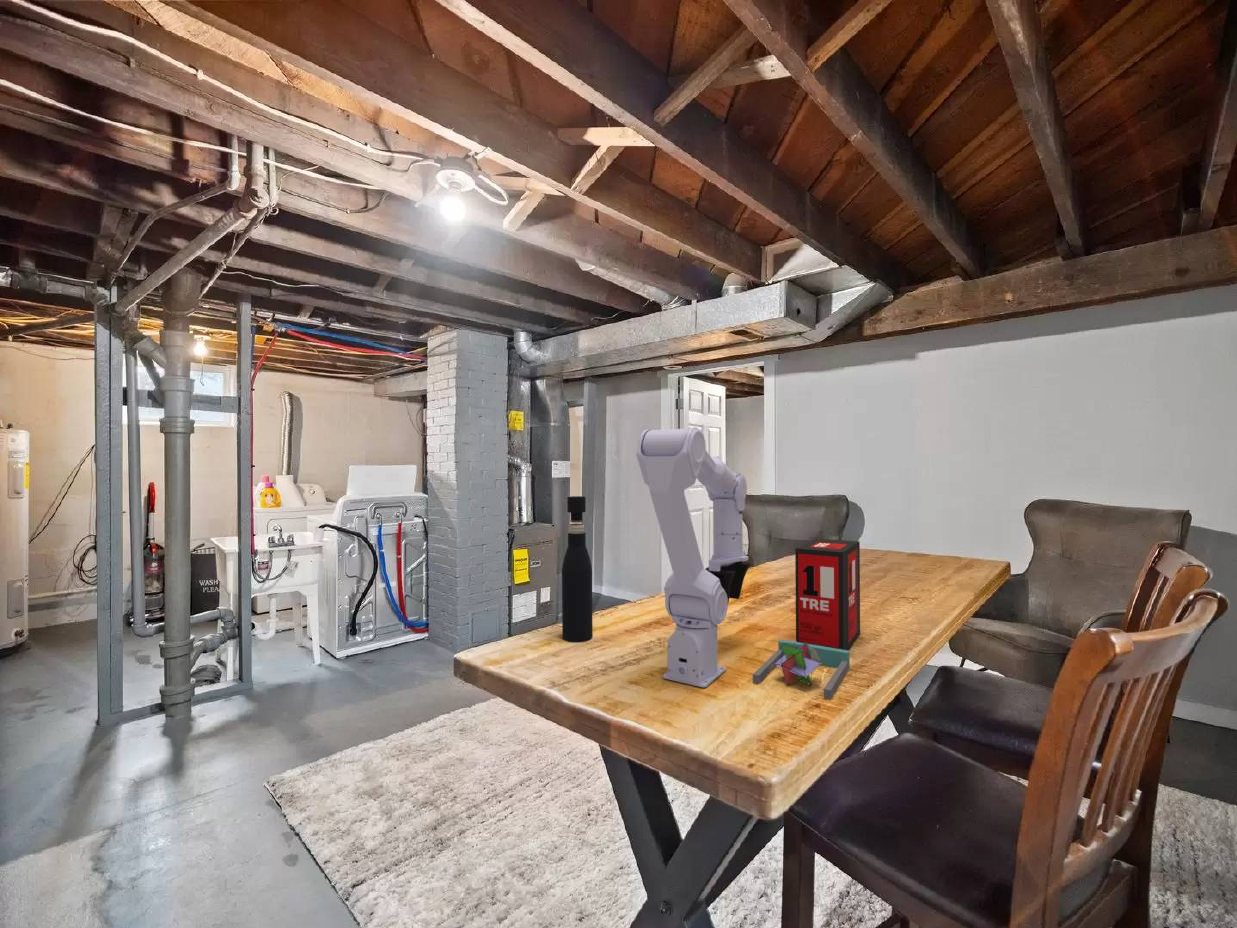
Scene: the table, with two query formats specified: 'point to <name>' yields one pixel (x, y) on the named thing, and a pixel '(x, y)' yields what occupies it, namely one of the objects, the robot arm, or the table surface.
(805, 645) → the geometric puzzle
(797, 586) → the cleaning product box
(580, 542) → the black water bottle
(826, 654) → the u-shaped frame
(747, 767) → the table surface
